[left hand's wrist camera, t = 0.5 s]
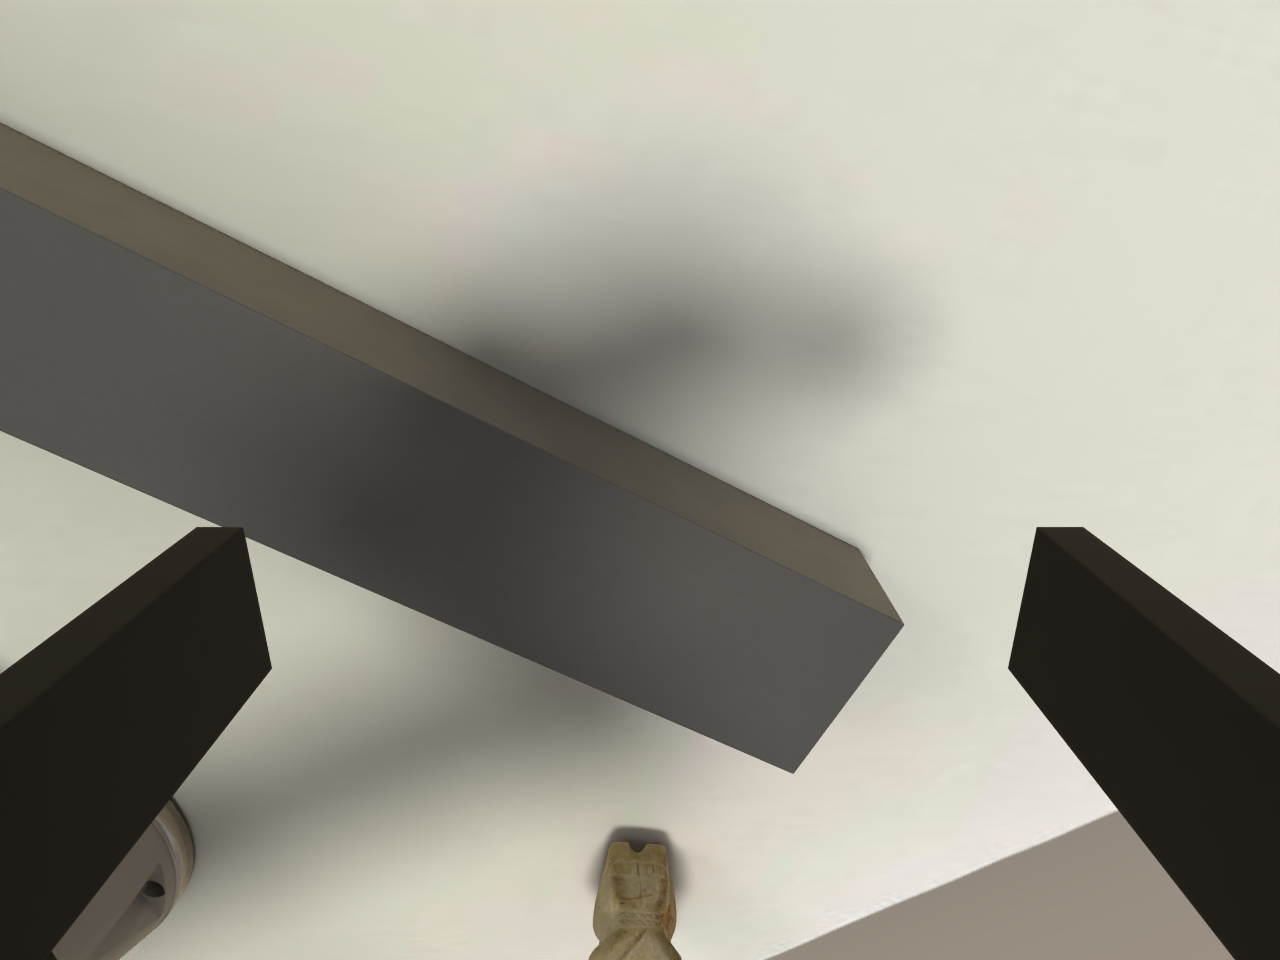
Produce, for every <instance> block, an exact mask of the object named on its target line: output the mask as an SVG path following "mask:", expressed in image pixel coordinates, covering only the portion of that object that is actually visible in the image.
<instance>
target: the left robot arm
mask: <svg viewBox="0 0 1280 960" xmlns="http://www.w3.org/2000/svg"><path fill="white" fill-rule="evenodd" d="M271 669H272V666H271V661H270V656H269V651H268V647H267V642H266V637H265V632H264V627H263V622H262V617H261V612H260V607H259V602H258V597H257V593H256V588H255V583H254V578H253V573H252V568H251V563H250V558H249V553H248V548H247V543H246V538H245V534H244V529H243V527H196V528H195V529H194V530H192V531H191V532H190V533H188V534H187V535H186V536H184V537H183V538H182V539H180V540H179V541H178V542H176V543H175V544H174V545H172V546H171V547H170V548H168V549H167V550H166V551H164V552H163V553H162V554H160V555H159V556H158V557H156V558H155V559H154V560H152V561H151V562H150V563H148V564H147V565H146V566H144V567H143V568H142V569H140V570H139V571H138V572H136V573H135V574H134V575H132V576H131V577H130V578H128V579H127V580H126V581H124V582H123V583H122V584H120V585H119V586H118V587H116V588H115V589H114V590H112V591H111V592H109V593H108V594H107V595H105V596H104V597H103V598H101V599H100V600H99V601H97V602H96V603H95V604H93V605H92V606H91V607H89V608H88V609H87V610H85V611H84V612H83V613H81V614H80V615H79V616H77V617H76V618H75V619H73V620H72V621H71V622H69V623H68V624H67V625H65V626H64V627H63V628H61V629H60V630H59V631H57V632H56V633H55V634H53V635H52V636H51V637H49V638H48V639H47V640H45V641H44V642H43V643H41V644H40V645H39V646H37V647H36V648H35V649H33V650H32V651H31V652H29V653H28V654H27V655H25V656H24V657H23V658H21V659H20V660H19V661H17V662H16V663H15V664H13V665H12V666H10V667H9V668H8V669H6V670H5V671H4V672H2V673H1V674H0V960H119V959H120V958H121V957H122V956H123V955H125V954H126V953H127V952H128V951H129V950H131V949H132V948H133V947H134V946H135V945H136V944H138V943H139V942H140V941H141V940H142V939H143V938H145V937H146V936H147V935H148V934H149V933H150V932H152V931H153V930H154V929H155V928H157V927H158V925H159V924H160V923H161V922H162V921H163V920H164V919H165V918H166V916H167V915H168V913H169V912H170V910H171V909H172V907H173V906H174V904H175V903H176V901H177V900H178V898H179V897H180V895H181V894H182V892H183V891H184V889H185V887H186V885H187V884H188V881H189V879H190V876H191V873H192V868H193V859H194V856H193V846H192V840H191V837H190V834H189V830H188V828H187V826H186V824H185V821H184V819H183V818H182V816H181V814H180V812H179V811H178V809H177V808H176V807H175V805H174V804H173V802H172V801H171V800H170V799H171V797H172V796H173V795H174V793H175V792H176V791H177V790H178V788H179V787H180V786H181V785H182V783H183V782H184V781H185V779H186V778H187V777H188V776H189V774H190V773H191V772H192V770H193V769H194V768H195V767H196V765H197V764H198V763H199V761H200V760H201V759H202V758H203V756H204V755H205V754H206V752H207V751H208V750H209V749H210V747H211V746H212V745H213V743H214V742H215V741H216V740H217V738H218V737H219V736H220V734H221V733H222V732H223V731H224V729H225V728H226V727H227V725H228V724H229V723H230V722H231V720H232V719H233V718H234V716H235V715H236V714H237V713H238V711H239V710H240V709H241V707H242V706H243V705H244V704H245V702H246V701H247V700H248V699H249V697H250V696H251V695H252V693H253V692H254V691H255V690H256V688H257V687H258V686H259V684H260V683H261V682H262V681H263V679H264V678H265V677H266V675H267V674H268V673H269V672H270V670H271ZM1008 669H1009V670H1010V672H1011V673H1012V674H1013V675H1014V677H1015V678H1016V679H1017V681H1018V682H1019V683H1020V684H1021V686H1022V687H1023V688H1024V690H1025V691H1026V692H1027V693H1028V695H1029V696H1030V697H1031V699H1032V700H1033V701H1034V702H1035V704H1036V705H1037V706H1038V707H1039V709H1040V710H1041V711H1042V713H1043V714H1044V715H1045V716H1046V718H1047V719H1048V720H1049V722H1050V723H1051V724H1052V725H1053V727H1054V728H1055V729H1056V731H1057V732H1058V733H1059V734H1060V736H1061V737H1062V738H1063V740H1064V741H1065V742H1066V743H1067V745H1068V746H1069V747H1070V749H1071V750H1072V751H1073V752H1074V754H1075V755H1076V756H1077V758H1078V759H1079V760H1080V761H1081V763H1082V764H1083V765H1084V767H1085V768H1086V769H1087V770H1088V772H1089V773H1090V774H1091V776H1092V777H1093V778H1094V779H1095V781H1096V782H1097V783H1098V785H1099V786H1100V787H1101V788H1102V790H1103V791H1104V792H1105V794H1106V795H1107V796H1108V797H1109V799H1110V800H1111V801H1112V802H1113V804H1114V805H1115V806H1116V808H1117V809H1118V810H1119V811H1120V813H1121V814H1122V815H1123V817H1124V818H1125V819H1126V820H1127V822H1128V823H1129V824H1130V826H1131V827H1132V828H1133V829H1134V831H1135V832H1136V833H1137V835H1138V836H1139V837H1140V838H1141V840H1142V841H1143V842H1144V844H1145V845H1146V846H1147V847H1148V849H1149V850H1150V851H1151V852H1152V854H1153V855H1154V856H1155V858H1156V859H1157V860H1158V862H1159V863H1160V864H1161V865H1162V867H1163V868H1164V869H1165V871H1166V872H1167V873H1168V874H1169V876H1170V877H1171V878H1172V879H1173V881H1174V882H1175V883H1176V885H1177V886H1178V887H1179V888H1180V890H1181V891H1182V892H1183V894H1184V895H1185V896H1186V897H1187V899H1188V900H1189V901H1190V903H1191V904H1192V905H1193V906H1194V908H1195V909H1196V910H1197V912H1198V913H1199V914H1200V915H1201V917H1202V918H1203V919H1204V921H1205V922H1206V923H1207V924H1208V926H1209V927H1210V928H1211V930H1212V931H1213V932H1214V933H1215V935H1216V936H1217V937H1218V939H1219V940H1220V941H1221V942H1222V944H1223V945H1224V946H1225V948H1226V949H1227V950H1228V951H1229V953H1230V954H1231V955H1232V957H1233V958H1234V959H1235V960H1280V674H1279V673H1278V672H1276V671H1275V670H1274V669H1272V668H1271V667H1270V666H1268V665H1267V664H1265V663H1264V662H1263V661H1261V660H1260V659H1259V658H1257V657H1256V656H1255V655H1253V654H1252V653H1251V652H1249V651H1248V650H1247V649H1245V648H1244V647H1243V646H1241V645H1240V644H1239V643H1237V642H1236V641H1235V640H1233V639H1232V638H1231V637H1229V636H1228V635H1227V634H1225V633H1224V632H1223V631H1221V630H1220V629H1219V628H1217V627H1216V626H1215V625H1213V624H1212V623H1211V622H1209V621H1208V620H1207V619H1205V618H1204V617H1203V616H1201V615H1200V614H1199V613H1197V612H1196V611H1195V610H1193V609H1192V608H1191V607H1189V606H1188V605H1187V604H1185V603H1184V602H1183V601H1181V600H1180V599H1179V598H1177V597H1176V596H1175V595H1173V594H1172V593H1171V592H1169V591H1168V590H1166V589H1165V588H1164V587H1162V586H1161V585H1160V584H1158V583H1157V582H1156V581H1154V580H1153V579H1152V578H1150V577H1149V576H1148V575H1146V574H1145V573H1144V572H1142V571H1141V570H1140V569H1138V568H1137V567H1136V566H1134V565H1133V564H1132V563H1130V562H1129V561H1128V560H1126V559H1125V558H1124V557H1122V556H1121V555H1120V554H1118V553H1117V552H1116V551H1114V550H1113V549H1112V548H1110V547H1109V546H1108V545H1106V544H1105V543H1104V542H1102V541H1101V540H1100V539H1098V538H1097V537H1096V536H1094V535H1093V534H1092V533H1090V532H1089V531H1088V530H1086V529H1085V528H1084V527H1037V529H1036V534H1035V538H1034V543H1033V548H1032V553H1031V558H1030V563H1029V568H1028V573H1027V578H1026V583H1025V588H1024V592H1023V597H1022V602H1021V607H1020V612H1019V617H1018V622H1017V627H1016V632H1015V637H1014V642H1013V647H1012V651H1011V656H1010V661H1009V666H1008Z"/></svg>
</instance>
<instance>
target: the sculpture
mask: <svg viewBox="0 0 1280 960" xmlns="http://www.w3.org/2000/svg"><path fill="white" fill-rule="evenodd" d="M675 927H676V903H675V895H674V889H673V883H672V880H671V878H670V874H669V867H668V860H667V855H666V849H665V847H664V845H659V844H646V845H645V846H644V848H643V850H642V851H641V852H639V853H636V852H634V851H633V850H632V849H631V846H630V843H628V842H612V843H611V844H610V846H609V849H608V855H607V860H606V865H605V868H604V871H603V873H602V876H601V880H600V885H599V890H598V893H597V897H596V901H595V907H594V916H593V929H594V932H595V935H596V936H597V938H598V939H599V945H598V946H597V947H596V948H595V949H594V950H593V952H592V953H591V955H590V957H589V960H682V959H681V956H680V955H679V953H678V952H677V951H676V949H675V948H674V947H673V945H672V944H671V943H670V942H671V938H672V936H673V933H674V931H675Z"/></svg>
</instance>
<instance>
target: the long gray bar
mask: <svg viewBox="0 0 1280 960" xmlns="http://www.w3.org/2000/svg"><path fill="white" fill-rule="evenodd" d="M0 431H2V432H5V433H7V434H9V435H11V436H14V437H16V438H18V439H21V440H23V441H25V442H28V443H30V444H32V445H35V446H37V447H39V448H42V449H44V450H46V451H48V452H51V453H53V454H55V455H58V456H60V457H62V458H65V459H67V460H69V461H72V462H74V463H76V464H78V465H81V466H83V467H85V468H88V469H90V470H92V471H95V472H97V473H99V474H102V475H104V476H106V477H109V478H111V479H113V480H115V481H118V482H120V483H122V484H125V485H127V486H129V487H132V488H134V489H136V490H139V491H141V492H143V493H145V494H148V495H150V496H152V497H155V498H157V499H159V500H162V501H164V502H166V503H169V504H171V505H173V506H176V507H178V508H180V509H182V510H185V511H187V512H189V513H192V514H194V515H196V516H199V517H201V518H203V519H206V520H208V521H210V522H212V523H215V524H217V525H219V526H222V527H243V529H244V534H245V537H247V538H249V539H252V540H254V541H256V542H259V543H261V544H263V545H266V546H268V547H270V548H273V549H275V550H277V551H279V552H282V553H284V554H286V555H289V556H291V557H293V558H296V559H298V560H300V561H303V562H305V563H307V564H310V565H312V566H314V567H316V568H319V569H321V570H323V571H326V572H328V573H330V574H333V575H335V576H337V577H340V578H342V579H344V580H346V581H349V582H351V583H353V584H356V585H358V586H360V587H363V588H365V589H367V590H370V591H372V592H374V593H377V594H379V595H381V596H383V597H386V598H388V599H390V600H393V601H395V602H397V603H400V604H402V605H404V606H407V607H409V608H411V609H413V610H416V611H418V612H420V613H423V614H425V615H427V616H430V617H432V618H434V619H437V620H439V621H441V622H444V623H446V624H448V625H450V626H453V627H455V628H457V629H460V630H462V631H464V632H467V633H469V634H471V635H474V636H476V637H478V638H480V639H483V640H485V641H487V642H490V643H492V644H494V645H497V646H499V647H501V648H504V649H506V650H508V651H511V652H513V653H515V654H517V655H520V656H522V657H524V658H527V659H529V660H531V661H534V662H536V663H538V664H541V665H543V666H545V667H547V668H550V669H552V670H554V671H557V672H559V673H561V674H564V675H566V676H568V677H571V678H573V679H575V680H578V681H580V682H582V683H584V684H587V685H589V686H591V687H594V688H596V689H598V690H601V691H603V692H605V693H608V694H610V695H612V696H614V697H617V698H619V699H621V700H624V701H626V702H628V703H631V704H633V705H635V706H638V707H640V708H642V709H645V710H647V711H649V712H651V713H654V714H656V715H658V716H661V717H663V718H665V719H668V720H670V721H672V722H675V723H677V724H679V725H681V726H684V727H686V728H688V729H691V730H693V731H695V732H698V733H700V734H702V735H705V736H707V737H709V738H712V739H714V740H716V741H718V742H721V743H723V744H725V745H728V746H730V747H732V748H735V749H737V750H739V751H742V752H744V753H746V754H748V755H751V756H753V757H755V758H758V759H760V760H762V761H765V762H767V763H769V764H772V765H774V766H776V767H779V768H781V769H783V770H785V771H788V772H790V773H794V772H795V771H796V770H797V768H798V767H799V766H800V764H801V763H802V762H803V760H804V759H805V758H806V756H807V755H808V754H809V752H810V751H811V750H812V748H813V747H814V746H815V744H816V743H817V742H818V740H819V739H820V737H821V736H822V735H823V733H824V732H825V731H826V729H827V728H828V727H829V725H830V724H831V723H832V721H833V720H834V719H835V717H836V716H837V715H838V713H839V712H840V711H841V709H842V708H843V707H844V705H845V704H846V703H847V701H848V700H849V699H850V697H851V696H852V695H853V693H854V692H855V691H856V689H857V688H858V686H859V685H860V684H861V682H862V681H863V680H864V678H865V677H866V676H867V674H868V673H869V672H870V670H871V669H872V668H873V666H874V665H875V664H876V662H877V661H878V660H879V658H880V657H881V656H882V654H883V653H884V652H885V650H886V649H887V648H888V646H889V645H890V644H891V642H892V641H893V640H894V638H895V637H896V635H897V634H898V633H899V631H900V630H901V629H902V627H903V626H904V623H903V622H902V620H901V618H900V617H899V615H898V613H897V612H896V610H895V608H894V607H893V605H892V603H891V602H890V600H889V598H888V597H887V595H886V593H885V592H884V590H883V588H882V587H881V585H880V583H879V582H878V580H877V578H876V577H875V575H874V573H873V572H872V570H871V568H870V567H869V565H868V563H867V562H866V560H865V559H864V557H863V555H862V554H861V552H860V550H859V549H857V548H855V547H853V546H851V545H849V544H847V543H845V542H843V541H841V540H839V539H837V538H835V537H833V536H831V535H829V534H827V533H825V532H823V531H821V530H819V529H817V528H815V527H813V526H811V525H809V524H807V523H805V522H803V521H801V520H799V519H797V518H795V517H793V516H791V515H789V514H787V513H785V512H783V511H781V510H779V509H777V508H775V507H773V506H771V505H769V504H767V503H765V502H763V501H761V500H759V499H757V498H755V497H753V496H751V495H749V494H747V493H745V492H743V491H741V490H739V489H737V488H735V487H732V486H730V485H728V484H726V483H724V482H722V481H720V480H718V479H716V478H714V477H712V476H710V475H708V474H706V473H704V472H702V471H700V470H698V469H696V468H694V467H692V466H690V465H688V464H686V463H684V462H682V461H680V460H678V459H676V458H674V457H672V456H670V455H668V454H666V453H664V452H662V451H660V450H658V449H656V448H654V447H652V446H650V445H648V444H646V443H644V442H642V441H640V440H638V439H636V438H634V437H632V436H630V435H628V434H626V433H624V432H622V431H620V430H618V429H616V428H614V427H612V426H610V425H608V424H606V423H604V422H602V421H600V420H597V419H595V418H593V417H591V416H589V415H587V414H585V413H583V412H581V411H579V410H577V409H575V408H573V407H571V406H569V405H567V404H565V403H563V402H561V401H559V400H557V399H555V398H553V397H551V396H549V395H547V394H545V393H543V392H541V391H539V390H537V389H535V388H533V387H531V386H529V385H527V384H525V383H523V382H521V381H519V380H517V379H515V378H513V377H511V376H509V375H507V374H505V373H503V372H501V371H499V370H497V369H495V368H493V367H491V366H489V365H487V364H485V363H483V362H481V361H479V360H477V359H475V358H473V357H471V356H469V355H467V354H465V353H462V352H460V351H458V350H456V349H454V348H452V347H450V346H448V345H446V344H444V343H442V342H440V341H438V340H436V339H434V338H432V337H430V336H428V335H426V334H424V333H422V332H420V331H418V330H416V329H414V328H412V327H410V326H408V325H406V324H404V323H402V322H400V321H398V320H396V319H394V318H392V317H390V316H388V315H386V314H384V313H382V312H380V311H378V310H376V309H374V308H372V307H370V306H368V305H366V304H364V303H362V302H360V301H358V300H356V299H354V298H352V297H350V296H348V295H346V294H344V293H342V292H340V291H338V290H336V289H334V288H332V287H330V286H327V285H325V284H323V283H321V282H319V281H317V280H315V279H313V278H311V277H309V276H307V275H305V274H303V273H301V272H299V271H297V270H295V269H293V268H291V267H289V266H287V265H285V264H283V263H281V262H279V261H277V260H275V259H273V258H271V257H269V256H267V255H265V254H263V253H261V252H259V251H257V250H255V249H253V248H251V247H249V246H247V245H245V244H243V243H241V242H239V241H237V240H235V239H233V238H231V237H229V236H227V235H225V234H223V233H221V232H219V231H217V230H215V229H213V228H211V227H209V226H207V225H205V224H203V223H201V222H199V221H197V220H195V219H192V218H190V217H188V216H186V215H184V214H182V213H180V212H178V211H176V210H174V209H172V208H170V207H168V206H166V205H164V204H162V203H160V202H158V201H156V200H154V199H152V198H150V197H148V196H146V195H144V194H142V193H140V192H138V191H136V190H134V189H132V188H130V187H128V186H126V185H124V184H122V183H120V182H118V181H116V180H114V179H112V178H110V177H108V176H106V175H104V174H102V173H100V172H98V171H96V170H94V169H92V168H90V167H88V166H86V165H84V164H82V163H80V162H78V161H76V160H74V159H72V158H70V157H68V156H66V155H64V154H62V153H60V152H57V151H55V150H53V149H51V148H49V147H47V146H45V145H43V144H41V143H39V142H37V141H35V140H33V139H31V138H29V137H27V136H25V135H23V134H21V133H19V132H17V131H15V130H13V129H11V128H9V127H7V126H5V125H3V124H1V123H0Z"/></svg>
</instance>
